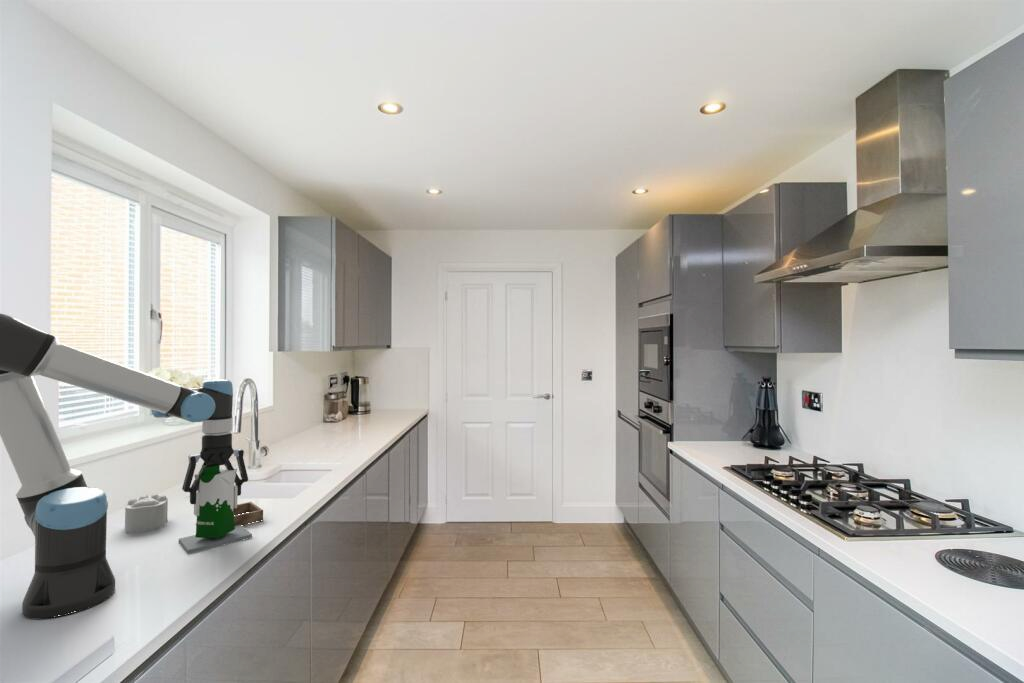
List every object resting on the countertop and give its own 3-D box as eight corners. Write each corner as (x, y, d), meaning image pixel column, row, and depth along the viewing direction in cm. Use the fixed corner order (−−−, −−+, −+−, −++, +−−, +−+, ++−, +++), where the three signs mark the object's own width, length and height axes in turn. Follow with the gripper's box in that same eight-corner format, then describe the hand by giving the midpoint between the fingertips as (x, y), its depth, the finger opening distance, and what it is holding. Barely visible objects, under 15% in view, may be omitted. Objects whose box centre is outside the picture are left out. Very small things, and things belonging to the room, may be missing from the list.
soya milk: (190, 538, 137) (190, 467, 137) (212, 527, 146) (213, 460, 146) (219, 540, 136) (219, 468, 136) (240, 528, 145) (241, 461, 145)
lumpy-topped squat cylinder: (121, 534, 145) (122, 505, 145) (130, 520, 156) (131, 493, 156) (164, 528, 150) (164, 499, 150) (170, 515, 161) (170, 489, 161)
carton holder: (220, 530, 148) (220, 519, 148) (209, 520, 156) (209, 509, 156) (263, 521, 156) (263, 510, 156) (250, 512, 165) (250, 501, 165)
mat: (187, 553, 131) (187, 550, 131) (178, 542, 139) (178, 538, 139) (252, 537, 143) (252, 534, 143) (240, 527, 150) (240, 524, 150)
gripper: (253, 427, 152) (252, 499, 151) (169, 436, 136) (168, 516, 136) (261, 430, 146) (260, 505, 146) (175, 439, 131) (174, 523, 130)
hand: (215, 510), depth 141 cm, fingers closed on soya milk, 9 cm apart
